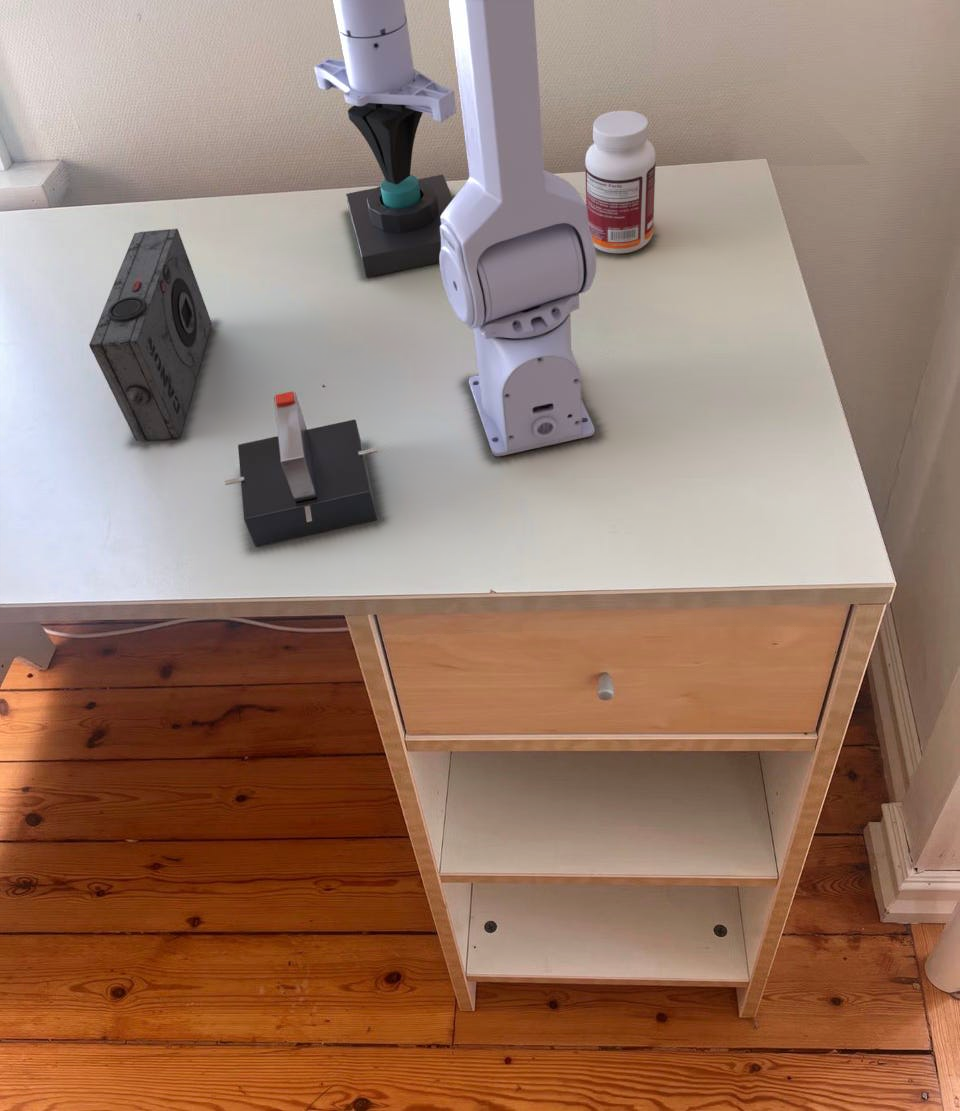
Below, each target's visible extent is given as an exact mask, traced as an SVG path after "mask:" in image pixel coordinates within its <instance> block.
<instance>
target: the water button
mask: <svg viewBox="0 0 960 1111" xmlns="http://www.w3.org/2000/svg"><path fill="white" fill-rule="evenodd" d="M379 186H380V187H381V193H382V198H383V203H384V205H385V206H386V207H388V208H398V209H400V208H405V207H410V206H412V205H414V204H416V203H418V202H420V199H421V196H420V189H419V182H418V178H417V177H416V176H415V175H412V174H410V176H409V177H407V178H406V179H405V180H403V181H402V182H400V183H399V184H397V185H396V184H393V183H390V182H387V181H386V179H385V178H384V179H383V180H382V181H381V183H380V185H379Z"/></svg>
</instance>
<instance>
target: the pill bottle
mask: <svg viewBox="0 0 960 1111" xmlns="http://www.w3.org/2000/svg"><path fill="white" fill-rule="evenodd" d="M648 136H649V120H648V118H647V117H646V116H645V115H644V114H642V113H639V112H637V111H633V110H623V109H622V110H613V111H609V112H606V113H604V114H601V115H599V116H598V117H597V118H596V119H595V120H594V122H593V126H592V139H593V143H592V144H591V145H590V146H589V147H588V150H587V151H586V153H585V159H584V160H585V162H584V166H585V167H584V169H585V173H584V174H585V204H586V206H587V212H588V222H589V229H590V233H591V236H592V239H593V243H594V247H595V249H596V250H599V251H601V252H603V253H604V252H605V253H609V254H629V253H632V252H636V251H638V250H640V249H642V248H643V247H645V246H646V245H647V244H648V243H649V242H650V241H651V239H652V237H653V235H654V221H655V220H654V218H655V189H656V188H655V187H656V186H655V185H656V160H657V155H656V154H657V153H656V150H655V147H654V145H653V144H652V143H651V142H650V141H649V140H648Z"/></svg>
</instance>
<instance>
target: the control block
mask: <svg viewBox="0 0 960 1111" xmlns="http://www.w3.org/2000/svg"><path fill="white" fill-rule="evenodd" d="M417 179H418V178H417ZM418 182H419V189H420V196H421V199H420V202H418V203H416V204H414V205H412V206H410V207H405V208H400V209H398V208H388V207H386V206H385V205H384V203H383V198H382V193H381V187H380V186H381V185H379V186H377V187H373V188H369V189H363V190H358V191H354V192H349V193H345V198H346V202H347V206H348V212H349V216H350V219H351V223H352V227H353V231H354V235H355V240H356V243H357V247H358V252H359V255H360V260H361V264H362V266H363V267H362V268H363V270H364V275H365V277H366V278H371V277H375V276H380V275H385V274H386V275H387V274H390V273H395V272H401V271H405V270H409V269H410V270H411V269H414V268H420V267H424V266H428V265H435V264H438V263H439V264H440V262H439V256H440V251H441V234H440V226H441V218H440V217H441V215H442V213H443V212H444V210H445V209H446V208H447V206H448V205H449V204H450V202H451V201H452V200H453V199H454V197H453V195H452V192H451V190H450V188H449V186H448V183H447V181H446V177H445V176H444V174H439V175H433V176H429V177H428V176H427V177H423V178H419V179H418Z"/></svg>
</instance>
